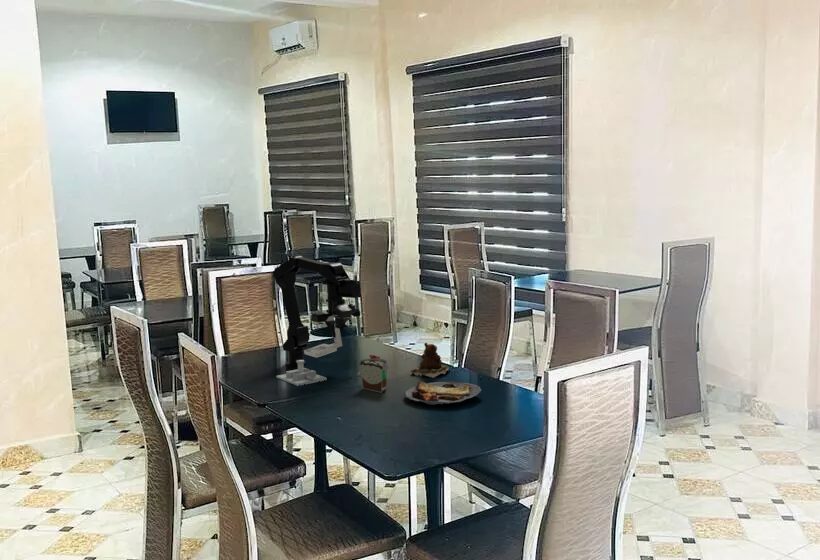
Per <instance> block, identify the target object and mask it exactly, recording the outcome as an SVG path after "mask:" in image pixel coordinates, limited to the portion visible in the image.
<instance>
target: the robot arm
mask: <svg viewBox="0 0 820 560" xmlns="http://www.w3.org/2000/svg"><path fill="white" fill-rule="evenodd" d="M300 269H303V270H307V271H309V272H314V273H316V274H319V275H320V276H321V277H323V278H324V280H323V282H321V285H324V286H325V285H326V291H327V292H326V294H327V295H326V296H327V298H326V299H325V303H327V309H325V310H326V311H325V312H326V313H325V312H321V311H319V312H313V313H311V315H310V321H311V322H315V323H322V322H323V323H325V325H326V326H327V328H328V330H329V333H330V335H331V337H332V338H333V339H334V338H335V328H339V329H340V335H341V336H342V334H343V331H344V329H345V325H346V323H347V322H348V321H350V320H351V317H354V318H356V317H361V310H360V309H359V308H356V305H355V303H348V304H346V300H345V298H349V299H350V298H351V299H357V298H359V296H360V295H361V287H360V283H358V282H357V279H351V278H350V276H349V275H348V273H347V272H346V270H345V268H344V266H343V264H342V263H341V262H323V261H320V260H315V259H312V258H307V257H305V256H302V255H297V256H296V255H295V256H291V257H290V258H289V259H288V260H286V261H284V263H282V264H280V265H278V266H277V267H275V268H274V270H273V274H272V276H273V278H274V280H275V283H276V285H277V286H278V287H279V288H280V290H281V294H282V299H283V304H284V307H285V312H286V313H285V314H286V318H287V322H288V327H287V330H286V337H287V338H286V340H285V342H284V343H283V344H282V349H283V351H286V352H287V355H288V361H287V362H285V363H284V364H285V365H287V366H290V367H298V363H297V362H296V361H297V360H304V350H303V349H307V347H308V343H309V341H310V336H311V334H310V331H309V326H308V325H304V324H303V322H302V319H301V314H300V309H299V305H298V300H297V297H296V291H295V283H296V281H297V275H296V274H297V273H298V272H299V271H300ZM334 319H336V320H334ZM335 324H336V325H335ZM307 364H308V363H307V362H306V361H304V362H303V366H304V365H307Z"/></svg>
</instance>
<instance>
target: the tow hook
mask: <svg viewBox="0 0 820 560" xmlns="http://www.w3.org/2000/svg"><path fill="white" fill-rule="evenodd" d="M372 358H376V359H381V356H378V355H375V354H369V359H372ZM356 374H357V375H358V376H359V375H361V369H360V370H359V371H358V373H356Z"/></svg>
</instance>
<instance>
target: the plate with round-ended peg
mask: <svg viewBox="0 0 820 560" xmlns="http://www.w3.org/2000/svg"><path fill="white" fill-rule="evenodd" d="M296 362H297V363H298V366H297V369H293V370H287V371H285V374H280V375H278V374H277V375H276V377H275V378H277V379H279V380H282V381H284V382H286V383H289V384H292V385H294V386H296V387H300V386H304V384H305V385H309V384H310V385H311V384H313V383H314V384H315V383H319V381H320V382H324V380H325V381H327V377H326V376H323V375H320V374H318V373H317V371H316V370H313V369H309V368H307V367H304V365H303V362H305V360H304V359H303V360H297V361H296ZM299 385H300V386H299Z"/></svg>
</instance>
